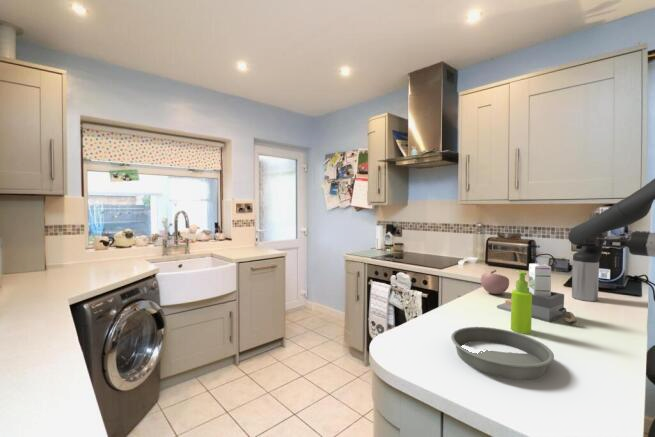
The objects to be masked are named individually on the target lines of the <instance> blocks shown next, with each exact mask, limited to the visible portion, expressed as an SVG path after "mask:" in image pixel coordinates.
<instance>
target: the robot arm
mask: <svg viewBox="0 0 655 437" xmlns="http://www.w3.org/2000/svg"><path fill="white" fill-rule="evenodd" d="M654 201H655V178H653V179H651V181H649V182H648V183H646V184H645V185H644V186H642V187H641V188H639V189H637V190H636V191H634V192H633V193H631V194H630V195H628V196H627V197H625V198H623V199H620V201H617V202H616V203H615V204H613V205H611V206H610V207H608V208H606V209H605V210H604V211H602V212H600V213H599V214H597V215H596V216H594V217H592V218H591V219H588V220H587V221H584V222H582V223H580V224H577V225H575V226H574V227H572V228H571V229H570V231H569V233H568V236H567V238H568V239H567V240H568V241H569V243H571V244H572V245H573V246H574V245H575V246H576V247H577V246H578V247H581V249H580V250H579V251H577V252H575V253H573V255H572V277H571V278H572V279H571V281H572V282H571V297H572V298H573V299H577V300H579V301H585V302H586V301H587V302H597V301H599V278H600V276H599V275H600V273H599V272H600V258H601V257H602V254H603V248H604V247H605V248H613V249H618V250H619V249H620V250H622V249H625V248H628V250H629V251H628V252H629V253H630V255H632V256H641V257H653V258H655V232H648V231H647V232H644V231H632V232H631V233H630V235H629V237H626V235H625V236H624V235H619V236H618V235H612V236H604V233H607V232H610V231H615V230H618V229H621V228H625V227H627V226H630V225H632V224H634V223H636V222H638V221H640V220H642V219H644V218H645V217H646V216H647V215H648V214H649V213H650V210H651V208H652V205H653V203H654Z"/></svg>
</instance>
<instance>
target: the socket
mask: <svg viewBox="0 0 655 437" xmlns="http://www.w3.org/2000/svg"><path fill="white" fill-rule="evenodd" d="M528 292H529V287H528ZM504 301H505V302H504V303H500V304H497V305H496V308H497V309H499V310H504V311H507V312H510V313H511V298H510V299H509V298H508V299H506V300H504ZM562 307H563V308H565V293H561V292H556V291H551V296H550V297H543V296H538V295H533V294H532V317H531V319H535V320H540V321H543V322H545V323H550V322H553V321H556V320H558V319H560V318H563V313H561V312H560V311H559V309H560V308H562Z"/></svg>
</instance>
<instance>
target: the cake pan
mask: <svg viewBox="0 0 655 437" xmlns="http://www.w3.org/2000/svg"><path fill="white" fill-rule="evenodd" d="M450 338H451V341H452V343H453V344H454V345H455V349H456V354H457V355H458V357H459V358H460V360H461V361H463V363H465V364H467V365H468V366H470V367H471V368H473V369H476V370H477V371H480V372H483V373H485V374H487V375H492V376H495V377H499V376H500V377H499V378H503V377H504V379H512V380H532V379H537V378H540V377H541V376H543V375H544V374H545V372H546V369H547V366H548V365H550V364H551V363H552V362H553V361H554V358H555V356H554V355H555V354H554V353H553V351H552V349H551V348H550V347H548V346H547V345H546V344H544V343H542V342H541V341H539V340H537V339H535V338H533V337H530V336H528V335H526V334H522V333H517V332H514V331H512V330H506V329H501V328H495V327H490V326H489V327H487V326H468V327H463V328H459V329H457V330H454V331H453V332H452V333H451V336H450ZM469 342H471V343H489V344H490V343H492V344H499V345H501V346H502V345H503V346H506V347H507V346H508V347H510V348H514V349H517V350H520V351H522V352H524V353H518V352H506V351H504V352H503V351H497V350H491V351H488V350H489V349H485V350H486V351H485V352H483V351H480V352H479V353H478V354H477V353H472V352H469V351H468V350H466V349H464V348H462V347H461V346H462V345H464V344H465V345H467V344H470V343H469ZM466 343H467V344H466ZM481 352H482V353H481Z"/></svg>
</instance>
